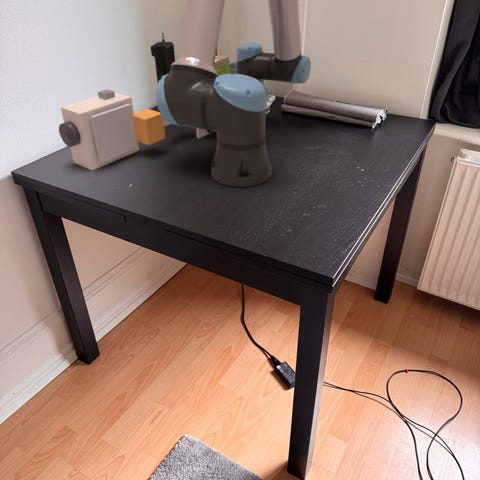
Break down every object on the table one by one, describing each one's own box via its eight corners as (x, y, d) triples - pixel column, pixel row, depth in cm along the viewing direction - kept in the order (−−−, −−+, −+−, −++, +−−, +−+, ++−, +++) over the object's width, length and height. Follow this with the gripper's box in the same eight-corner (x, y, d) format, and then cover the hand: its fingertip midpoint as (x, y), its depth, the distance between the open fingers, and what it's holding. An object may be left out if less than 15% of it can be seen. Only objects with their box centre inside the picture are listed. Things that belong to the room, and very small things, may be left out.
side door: (166, 145, 125) (161, 102, 119) (114, 167, 114) (105, 121, 107) (151, 139, 129) (145, 97, 122) (99, 161, 117) (89, 116, 110)
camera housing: (140, 150, 127) (132, 91, 118) (87, 173, 116) (72, 110, 106) (120, 143, 132) (111, 86, 122) (67, 165, 120) (52, 103, 111)
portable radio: (175, 122, 145) (167, 38, 131) (157, 121, 146) (147, 38, 132) (182, 113, 152) (176, 33, 137) (165, 112, 153) (157, 32, 139)
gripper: (263, 127, 131) (214, 151, 117) (199, 110, 144) (149, 130, 130) (263, 101, 126) (213, 123, 113) (198, 86, 139) (145, 104, 126)
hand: (178, 127), depth 122 cm, fingers open, 13 cm apart
